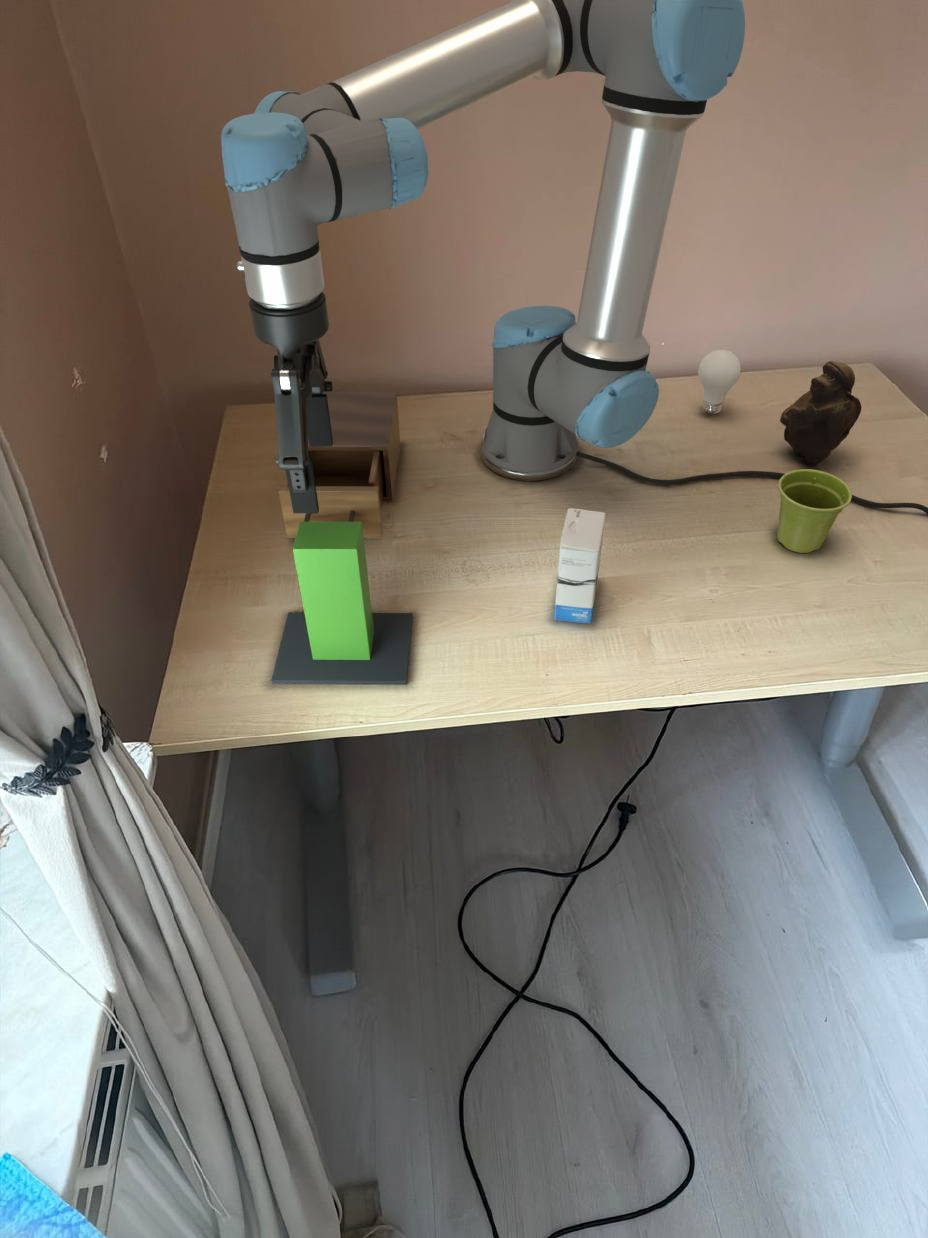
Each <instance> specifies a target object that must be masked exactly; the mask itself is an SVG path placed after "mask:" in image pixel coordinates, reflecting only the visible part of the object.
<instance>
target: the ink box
mask: <svg viewBox="0 0 928 1238" xmlns="http://www.w3.org/2000/svg"><path fill="white" fill-rule="evenodd" d="M605 521H606V512H604V511H596V510H587V509H581V508H574V507H569V508H568V509H567V511H566V514H565V518H564V524H563V527H562V532H561V536H560V539H559V552H558V553H559V554H558V564H557V577H556V578H557V579H556V589H555V601H554V603H555V604H554V614H553V620H555V621H561V622H569V623H577V624H589V625H590V624H592V619H593V612H594V606H595V605H594V604H595V600H596V594H597V593H596V592H597V587H598V580H599V574H600V566H601V558H602V549H603V539H604V532H605V531H604V530H605Z"/></svg>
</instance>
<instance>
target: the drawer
mask: <svg viewBox="0 0 928 1238" xmlns="http://www.w3.org/2000/svg"><path fill="white" fill-rule="evenodd" d="M308 457H309V458H311V460H312V466H313V473H314V479H315V486H316V492H317V499H318V505H319V512H318V513H293V508H292V503H291V497H290V491H289V486H288V480H287V481H286V486H285V485H284V486H282V485H281V486H279V488H278V497H279V502H280V508H281V512H282V518H283V523H284V529H285V534H286V538H296V535H297V531H298V527H299V523H300V522H362V528H363V536H364V539H365V538H367V539H370V538H371V539H372V538H374V539H375V538H383V534H384V533H383V532H384V530H383V521H382V505H383V502H382V499H383V493H384V486H385V470H384V459H383V451H308Z"/></svg>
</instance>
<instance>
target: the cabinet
mask: <svg viewBox="0 0 928 1238" xmlns="http://www.w3.org/2000/svg"><path fill="white" fill-rule="evenodd" d="M323 394H327V400H328V408H329V415H330V423H331V430H332V438H333V446H310V443H309V437H308V451H383V459H384V470H385V486H384V493H383V499H382V503H383V502H384V503H385V502H388V503H389V502H394V495H395V494H394V493H395V486H396V481H397V473H398V465H399V458H400V451H401V435H400V420H399V407H398V393H397V391H332V392H323Z"/></svg>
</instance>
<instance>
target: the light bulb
mask: <svg viewBox="0 0 928 1238" xmlns="http://www.w3.org/2000/svg"><path fill="white" fill-rule="evenodd" d="M741 367H742V366H741V363H740V360H739V359H738V357H737V355H735V354H734V353H733V352H731V351H729V350H726V349H715V350H713V351H711V352H709V353H707V354H705V356H704V357H703V358H702V360H701V361H700V363H699V366H698V369H697V370H698V371H697V374H698V379H699V382H700V384H701V386H702V388H703V410H704V412H706V413H708V414H709V415H715V414H719V413H720V412H721V411H722V407H723V402H724V401H725V399H726V396H727V394H728V392H729V391H730V390H732V388H733V387H734V386H735V385H736V384H737V382H738V380H739V378H740V375H741V372H742V368H741Z"/></svg>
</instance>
